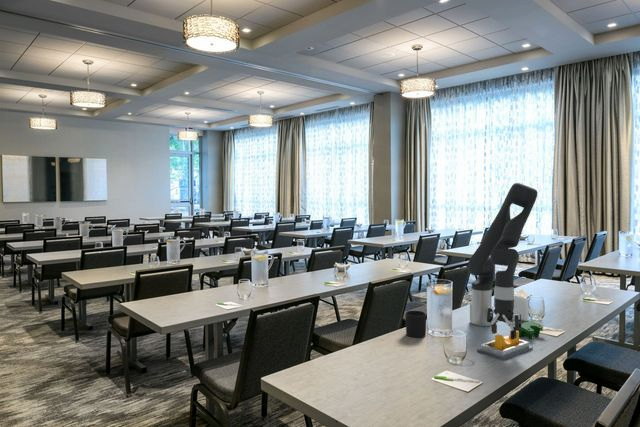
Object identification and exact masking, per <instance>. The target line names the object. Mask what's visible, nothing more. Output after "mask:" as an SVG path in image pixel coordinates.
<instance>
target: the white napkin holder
mask: <svg viewBox="0 0 640 427" xmlns="http://www.w3.org/2000/svg"><path fill="white" fill-rule="evenodd" d="M513 312H514V314H517V315H518V314H520V315H521V321H524V322H529V318H530V317H529V315H530V314H529V298H528V297H527V296H524V295H521V294H515V293H514V310H513ZM513 320H515V319H514V317H513Z"/></svg>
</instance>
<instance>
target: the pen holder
mask: <svg viewBox="0 0 640 427" xmlns="http://www.w3.org/2000/svg"><path fill="white" fill-rule="evenodd" d="M404 316H405V334H406V336H407V337H410V338H417V339H419V338H424V337H425V336H426V334H427V333H426V332H427V314H426V313H425V312H424V311H422V310H421V311H420V310H409V311H406V312H405V314H404Z"/></svg>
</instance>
